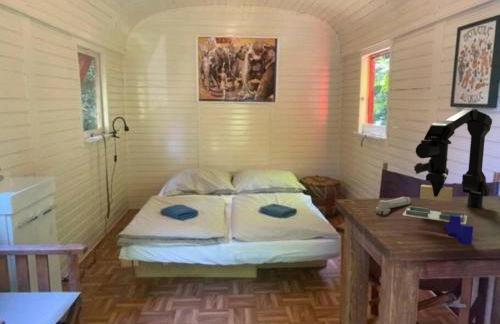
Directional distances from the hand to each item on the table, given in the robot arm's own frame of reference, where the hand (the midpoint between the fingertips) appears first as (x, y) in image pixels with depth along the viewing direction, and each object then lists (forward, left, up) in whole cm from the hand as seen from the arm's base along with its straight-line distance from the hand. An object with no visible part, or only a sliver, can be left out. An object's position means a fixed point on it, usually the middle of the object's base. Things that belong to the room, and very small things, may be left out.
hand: (436, 195), depth 147 cm
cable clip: (+19, +9, -9) cm, 23 cm away
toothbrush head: (-3, -16, -10) cm, 19 cm away
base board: (0, 0, -9) cm, 9 cm away
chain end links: (0, 0, -8) cm, 8 cm away
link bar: (0, 0, -2) cm, 2 cm away
